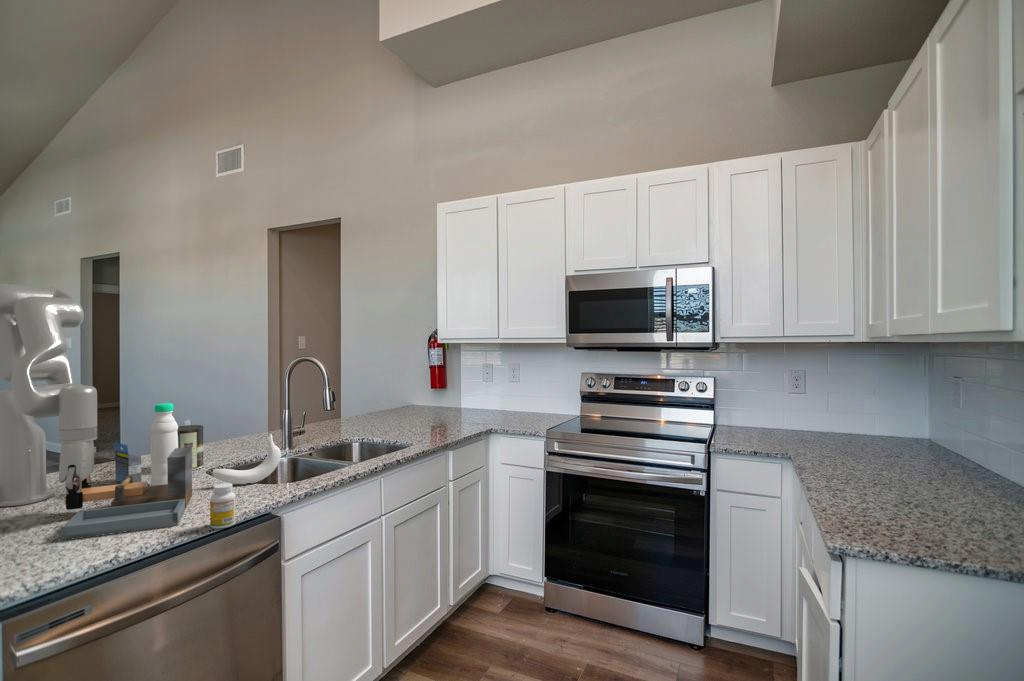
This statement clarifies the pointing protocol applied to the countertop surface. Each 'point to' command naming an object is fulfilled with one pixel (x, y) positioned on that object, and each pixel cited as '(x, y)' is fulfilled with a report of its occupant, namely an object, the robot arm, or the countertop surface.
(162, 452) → the water bottle
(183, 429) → the coffee can
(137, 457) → the label tape cartridge
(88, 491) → the orange rectangular block
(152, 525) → the tray
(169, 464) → the dispenser
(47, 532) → the countertop surface
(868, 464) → the countertop surface
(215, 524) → the supplement bottle
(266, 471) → the banana
